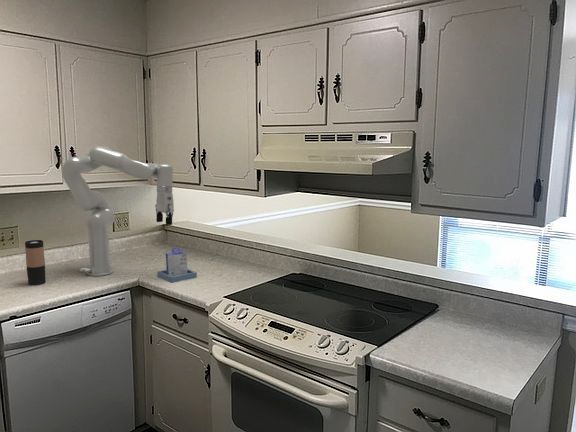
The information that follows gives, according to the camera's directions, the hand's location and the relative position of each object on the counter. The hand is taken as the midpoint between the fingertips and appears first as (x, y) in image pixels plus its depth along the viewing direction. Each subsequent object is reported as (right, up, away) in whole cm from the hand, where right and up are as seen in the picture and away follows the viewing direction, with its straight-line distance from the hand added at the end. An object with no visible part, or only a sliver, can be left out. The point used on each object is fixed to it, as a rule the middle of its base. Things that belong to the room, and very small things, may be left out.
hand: (164, 223), depth 233 cm
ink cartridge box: (+6, -27, 0) cm, 28 cm away
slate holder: (+6, -27, 0) cm, 27 cm away
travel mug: (-56, -28, -13) cm, 64 cm away
